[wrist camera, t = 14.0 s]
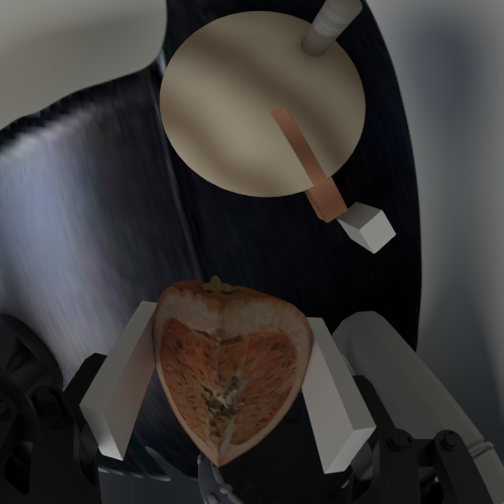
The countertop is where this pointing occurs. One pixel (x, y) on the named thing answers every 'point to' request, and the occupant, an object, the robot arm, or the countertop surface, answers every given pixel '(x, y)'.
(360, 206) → the grey rectangular block
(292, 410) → the grey dotted bowl
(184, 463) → the countertop surface
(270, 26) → the beige round piece
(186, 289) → the fruit slice
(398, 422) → the water bottle
